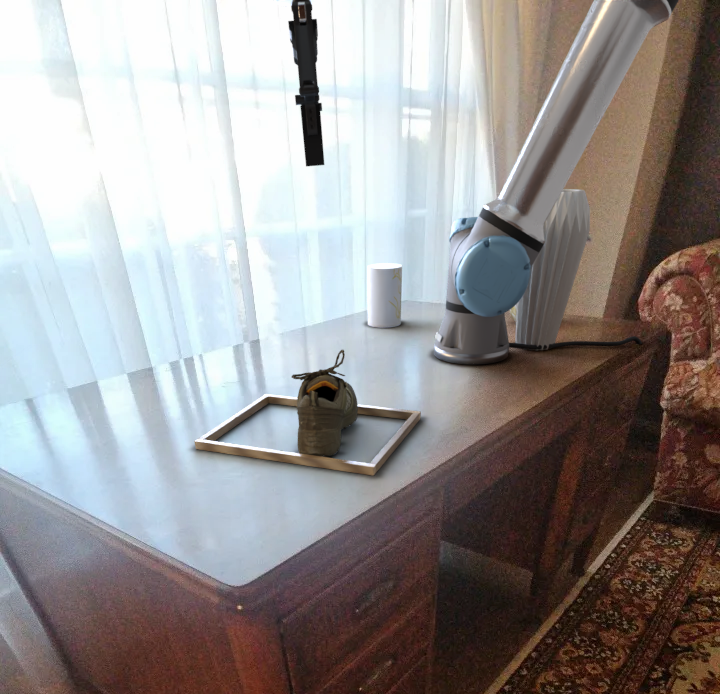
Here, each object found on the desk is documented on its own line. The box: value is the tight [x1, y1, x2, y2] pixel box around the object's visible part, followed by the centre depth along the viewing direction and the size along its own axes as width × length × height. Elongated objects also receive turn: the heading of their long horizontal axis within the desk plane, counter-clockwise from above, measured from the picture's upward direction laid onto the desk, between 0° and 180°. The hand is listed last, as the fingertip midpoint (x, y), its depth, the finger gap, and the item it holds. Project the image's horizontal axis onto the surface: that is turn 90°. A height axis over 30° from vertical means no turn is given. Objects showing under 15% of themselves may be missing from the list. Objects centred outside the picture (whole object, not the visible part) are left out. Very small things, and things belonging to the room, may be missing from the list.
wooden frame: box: [193, 393, 422, 477], centre depth 88 cm, size 28×22×1 cm
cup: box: [366, 262, 403, 329], centre depth 137 cm, size 8×8×12 cm
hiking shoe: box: [291, 349, 358, 457], centre depth 83 cm, size 8×20×12 cm, turn 172°
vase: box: [514, 188, 591, 351], centre depth 114 cm, size 13×13×26 cm
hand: (314, 166), depth 89 cm, fingers open, 13 cm apart
